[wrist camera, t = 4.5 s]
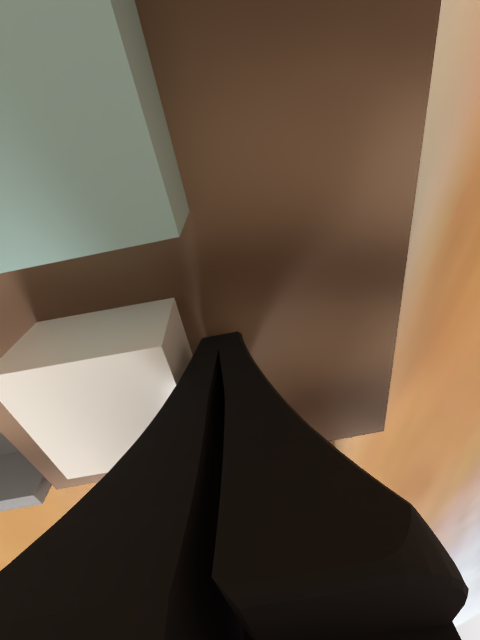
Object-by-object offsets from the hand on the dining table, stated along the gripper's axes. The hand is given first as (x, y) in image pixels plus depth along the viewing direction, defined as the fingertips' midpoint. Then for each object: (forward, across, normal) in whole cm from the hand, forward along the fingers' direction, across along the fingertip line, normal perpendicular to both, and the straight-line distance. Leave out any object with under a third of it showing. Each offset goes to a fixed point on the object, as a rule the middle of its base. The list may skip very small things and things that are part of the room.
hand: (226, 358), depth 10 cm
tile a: (+1, +4, 0) cm, 4 cm away
